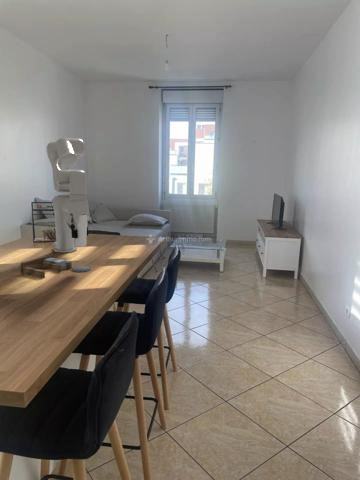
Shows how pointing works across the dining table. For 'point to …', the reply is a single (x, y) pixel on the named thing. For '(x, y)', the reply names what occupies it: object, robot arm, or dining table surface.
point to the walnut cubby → (44, 265)
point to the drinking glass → (81, 231)
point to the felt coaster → (81, 268)
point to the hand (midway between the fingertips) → (80, 236)
